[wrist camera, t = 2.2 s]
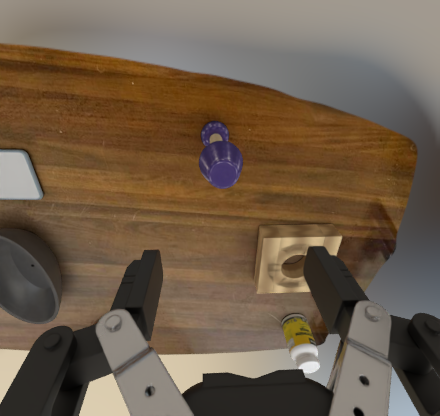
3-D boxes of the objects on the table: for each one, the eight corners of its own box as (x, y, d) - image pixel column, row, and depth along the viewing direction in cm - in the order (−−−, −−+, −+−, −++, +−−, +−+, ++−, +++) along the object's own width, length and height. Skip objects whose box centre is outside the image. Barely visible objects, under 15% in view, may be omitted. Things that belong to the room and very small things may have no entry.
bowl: (29, 299, 54) (9, 325, 48) (-24, 213, 42) (-57, 234, 37) (85, 296, 54) (72, 322, 49) (48, 210, 43) (25, 231, 37)
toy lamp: (203, 114, 36) (201, 148, 22) (235, 120, 37) (253, 157, 22) (199, 146, 38) (194, 196, 24) (228, 151, 39) (240, 203, 25)
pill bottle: (310, 315, 61) (329, 362, 51) (298, 330, 63) (314, 377, 54) (287, 310, 59) (303, 357, 50) (276, 326, 62) (289, 373, 53)
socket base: (332, 223, 47) (342, 236, 43) (317, 276, 54) (325, 291, 50) (259, 225, 46) (263, 238, 43) (254, 278, 53) (257, 293, 50)
